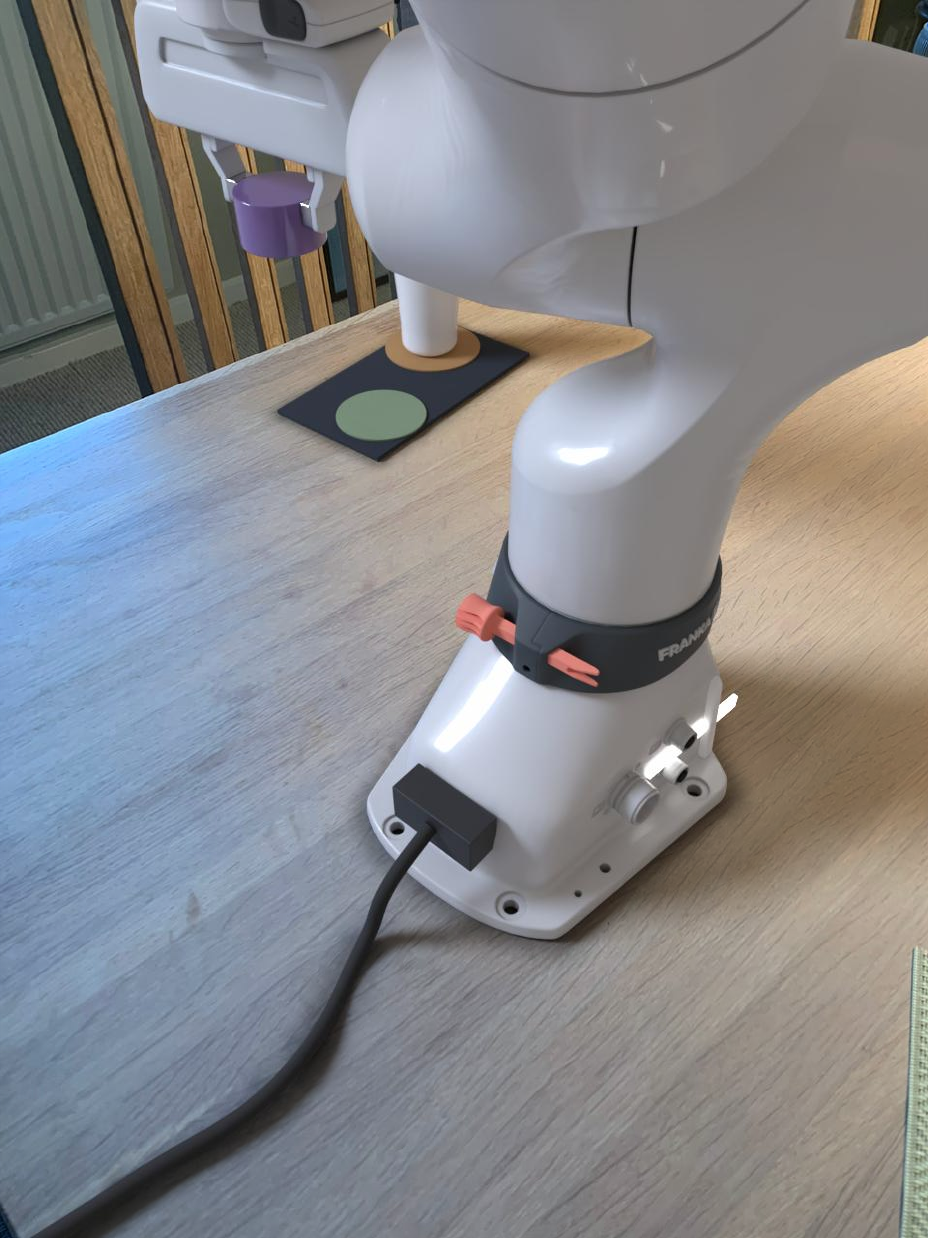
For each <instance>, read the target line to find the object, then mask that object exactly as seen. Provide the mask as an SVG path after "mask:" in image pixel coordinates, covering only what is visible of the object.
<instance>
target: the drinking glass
mask: <svg viewBox="0 0 928 1238" xmlns="http://www.w3.org/2000/svg"><path fill="white" fill-rule="evenodd" d="M393 275H394V276H393V277H394V283H395V289H396V297H397V303H398V304H397V305H398V310H399V311H398V313H399V319H400V320H399V321H400V330H401V331H402V342H403V345H404V347H405V348H406V349H407V350H408V351H409V352H411V353H413V354H416V355H419V356H426V357H432V356H439V355H443V354H445V353H448V352H449V351H451V350H452V349H453V348H454V347H455V345H456V343H457V325H458V320H459V307H460V306H459V304H460V297H458V296H455V295H452V294H449V293H446V292H444V291H441V290H438V289H435V288H433V287H430V286H427V285H425V284H422V283H419V282H416V281H414V280H411V279H409V278H406V277H404V276H401V275H399V274H396V273H394V272H393Z"/></svg>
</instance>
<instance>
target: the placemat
mask: <svg viewBox="0 0 928 1238" xmlns="http://www.w3.org/2000/svg"><path fill="white" fill-rule="evenodd" d="M530 355H531V353H530V352H529V351H526V350H523V349H521V348H519V347H516V346H513V345H510V344H508V343H505V342H503V341H500V340H497V339H495V338H492V337H489V336H487V335H484V334H482V333H479V332H476V331H474V330H472V329H469V328H466V327H463V326H460V325H458V324H457V343H456V345H455V347H454V348H453V349H452V350H451V351H449V352H448V353H445V354H443V355H439V356H432V357H426V356H419V355H416V354H413V353H411V352H409V351H408V350H407V349H406V348H405V347H404V345H403V342H402V331H401V329H399V330H397V331H395V332H393V334H391V335H390V336H389V338H388V339H387V340H386V342H385V345H383V346H381V347H379V348H378V349H376V350H375V351H373V352H371V353H370V354H368V355H367V356H365V357H363V358H361V359H359V360H358V361H356V362H354V363H353V364H351V365H350V366H348V367H345V369H343V370H340V372H337V373H336V374H334V375H333V376H331V377H329V378H328V379H326V380H324V381H322V382H321V383H319V384H317V385H316V386H314V387H312V388H311V389H310V390H308V391H306V392H304V393H303V394H301V395H300V396H298V397H296V398H295V399H293V400H291V401H290V402H288V403H285V405H283V406H281V407H279V408H277V409H276V411H277V414H278V415H280V416H282V417H284V418H286V419H288V420H291V421H292V422H294V423H297V424H298V425H301V426H303V427H305V428H306V429H308V430H311V431H313V432H315V433H317V434H319V435H321V436H323V437H326V438H328V439H329V440H332V441H334V442H335V443H338V444H340V445H342V446H344V447H346V448H348V449H350V450H353V451H355V452H357V453H359V454H361V455H363V456H365V457H367V458H369V459H370V460H373V461H375V462H380V461H381V460H383V459H384V458H385V457H386V456H388V455H390V454H391V453H392V452H394V451H396V450H397V449H398V448H400V447H401V446H402V445H404V444H405V443H407V442H408V441H410V440H411V439H413V438H414V437H416V436H417V435H418V434H420V433H422V432H423V431H424V430H426V429H427V428H429V427H430V426H431V425H433V424H434V423H436V422H437V421H438V420H440V419H441V418H443V417H445V416H446V415H447V414H449V413H450V412H452V411H453V410H454V409H456V408H457V407H459V406H461V405H462V404H463V403H465V402H466V401H468V400H469V399H471V397H473V396H475V395H476V394H477V393H479V392H481V391H482V390H483V389H485V388H486V387H487V386H489V385H490V384H492V383H493V382H495V381H496V380H498V379H499V378H500V377H502V376H503V375H505V374H506V373H508V372H509V371H511V370H512V369H514V368H515V367H517V366H518V365H519V364H521V363H522V362H524V361H525V360H526V359H528V358H530Z"/></svg>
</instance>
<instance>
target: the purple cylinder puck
mask: <svg viewBox="0 0 928 1238" xmlns="http://www.w3.org/2000/svg"><path fill="white" fill-rule="evenodd" d="M314 185H315V182H314V183H313V182H309V180H308V178H307V173H305V172H300V171H292V170H275V171H267V172H261V173H256V174H255V175H253V176H250V177H247V178H245V179H243V180H241V181H239V182H238V183H237V184H235V186H234V187H233V189H232V199H233V203H232V205H233V210H234V216H235V221H236V228H237V233H238V239H239V244H240V246H241V248H242V249H243V250H244V251H245V252H247V253H249V254H251V255H253V256H256V257H260V258H266V259H289V258H290V259H291V258H296V257H300V256H301V257H302V256H305V255H308V254H310V253H313V252H315V251H317V250H318V249H320V248H321V247H322V246H324V245H325V243H326V242H327V239H328V231H327V232H325V233H323V234H322V233H319V232H316V231H313V230H310V229H307V228H305V227H304V226H303V224H302V219H303V216H302V214H301V210H300V203H302V202H304V201H306V200H310V199H311V195H312V192H313V189H314Z"/></svg>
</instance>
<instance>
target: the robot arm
mask: <svg viewBox="0 0 928 1238" xmlns="http://www.w3.org/2000/svg"><path fill="white" fill-rule="evenodd" d="M135 1H136V5H135V9H134V16H133V21H134V22H133V24H134V25H133V26H134V40H135V48H136V56H137V64H138V65H137V66H138V71H139V77H140V82H141V91H142V94H143V99H144V101H145V104H146V105H147V107H148V109H149V110H150V113H152V116H153V117H154V118H155V119H156V120H157V121H159V122H162V123H165V124H169V125H171V126H176V127H178V128H182V129H185V130H188V131H192V132H194V133H197V134H200V138H201V144H202V148H203V150H204V153H205V154H206V155H207V157H208V159H209V161H210V163H211V165H212V166H213V167H214V169H215V171H216V173H217V174H218V176H219V177H220V180H221V185H222V191H223V196H224V199H225V201H227V202H229V203H232V204H233V199H232V189H233V187H234V186H235V184H237V183H238V182H239V181H241V180H243V179H245V178H247V177H250V176H253V175H256V174H255V173H253V172H250V171H248V170H247V169H246V166H245V164H244V162H243V159H242V158H241V155H240V152H239V150H238V147H237V146H241V147H244V148H247V149H250V150H253V151H257V152H259V153H264V154H265V155H269V156H273V157H275V158H279V159H283V160H286V161H289V162H293V163H296V164H299V165H302V166H304V167H305V169H306V174H307V178H308V180H309V182H313V183H314V182H315V185H314V189H313V192H312V195H311V199H310V200H306V201H304V202H302V203H300V210H301V214H302V216H303V219H302V224H303V226H304V227H305V228H307V229H310V230H313V231H316V232H319V233H322V234H323V233H325V232H327V233H328V232H329V231H330V230H332V229H334V228H335V227H336V224H337V212H336V203H335V202H336V200H337V198H338V196H339V193H340V191H341V189H342V186H343V184H344V181H345V180H346V184H347V189H348V194H349V198H350V204H351V207H352V210H353V213H354V217H355V219H356V221H357V223H358V226H359V228H360V231H361V233H362V235H363V237H364V238H365V241H366V242H367V244H368V246H369V248H370V249H371V251H372V253H373V254H374V255H375V257H376V259H378V261H379V263H380V264H381V265H382V266H383V267H384V268H385V269H387V270H388V271H390V272H392V273H393V274H394V273H396V274H399V275H401V276H404V277H406V278H409V279H411V280H414V281H416V282H419V283H422V284H425V285H427V286H430V287H433V288H435V289H438V290H441V291H444V292H446V293H449V294H452V295H455V296H458V297H459V298H461V299H464V300H467V301H470V302H473V303H477V304H479V305H483V306H486V307H488V308H489V307H490V308H495V309H501V310H508V311H516V312H521V313H530V314H536V315H542V316H550V317H557V318H565V319H570V320H576V321H585V322H590V323H597V324H605V325H612V326H618V327H626V328H633V329H634V330H639V331H643V332H645V333H647V334H648V335H650V336H651V338H650V339H648V340H647V341H645V342H644V343H642V344H640V345H639V346H636V347H635V348H632V349H630V350H627V351H625V352H622V353H619V354H615V355H613V356H609V357H606V358H602V359H600V360H597V361H593V362H590V363H588V364H584V365H582V366H580V367H578V368H576V369H574V370H572V371H570V372H568V373H567V374H564V375H563V376H562V377H560V378H559V379H557V380H556V381H554V382H553V383H551V384H550V385H548V386H547V387H546V388H545V389H544V390H543V391H541V392H540V393H538V395H537V396H536V397H535V398H534V399H533V400H532V401H531V402H530V404H529V405H528V406H527V408H526V409H525V411H524V412H523V414H522V415H521V417H520V419H519V422H517V423H518V424H517V426H516V428H515V432H514V435H513V438H512V443H511V453H510V454H511V455H510V456H511V458H510V460H511V461H510V483H509V484H510V485H509V486H510V487H509V509H508V510H509V513H508V514H509V515H508V530H507V531H506V533H505V535H504V538H503V541H502V544H501V547H500V550H499V553H498V554H497V556H496V557H497V559H496V560H495V562H494V565H493V567H492V572H491V575H492V578H491V581H490V585H489V589H488V593H487V596H486V599H485V598H484V597H482V596H481V595H479V594H477V593H471V594H468V595H467V596H466V597H465V598H464V599H463V600H462V601H461V603H460V604H459V606H458V609H457V611H456V613H455V618H454V623H455V626H456V628H458V629H460V630H461V631H464V632H467V633H469V634H468V636H467V638H466V639H465V641H464V643H463V645H462V646H461V648H460V649H459V651H458V653H457V655H456V656H455V658H454V660H453V662H452V663H451V665H450V667H449V668H448V670H447V672H446V673H445V676H444V677H443V678H442V680H441V682H440V684H439V685H438V687H437V688H436V690H435V692H434V694H433V696H432V698H431V700H430V701H429V703H428V705H427V706H426V708H425V709H424V711H423V713H422V715H421V716H420V718H419V721H418V723H417V724H416V726H415V728H414V729H413V730H412V732H411V734H410V735H409V736H408V737H407V739H406V741H405V742H404V743H403V745H402V746H401V748H400V749H399V750H398V751H397V753H396V755H395V756H394V757H393V759H392V760H391V761H390V764H389V765H388V766H387V768H386V769H385V771H384V772H383V773H382V774H381V776H380V777H379V779H378V781H377V782H376V783H375V785H374V787H372V790H371V791H370V793H369V795H368V796H367V800H366V813H367V816H368V819H369V823H370V825H371V828H372V830H373V831H374V834H375V835H376V837H377V839H378V841H379V842H380V844H381V845H382V847H383V848H384V849H385V851H386V852H387V854H389V856H390V857H391V858H392V859H393V860H394V861H393V863H392V865H391V867H390V868H389V870H388V871H387V872H386V874H385V875H384V877H383V879H382V880H381V882H380V884H379V886H378V887H377V890H376V892H375V893H374V896H373V898H372V900H371V903H370V906H369V910H368V913H367V916H366V919H365V922H364V924H363V927H362V929H361V931H360V933H359V935H358V937H357V939H356V941H355V943H354V945H353V948H352V949H351V951H350V954H349V955H348V958H347V959H346V962H345V965H344V966H343V969H342V971H341V973H340V976H339V978H338V979H337V982H336V984H335V986H334V988H333V990H332V992H331V995H330V997H329V999H328V1000H327V1002H326V1004H325V1006H324V1008H323V1010H322V1012H321V1014H320V1015H319V1016H318V1018H317V1021H316V1022H315V1024H314V1026H313V1027H312V1029H311V1030H310V1031H309V1033H308V1035H307V1036H306V1037H305V1039H304V1040H303V1042H302V1043H301V1044H300V1045H299V1046H298V1048H297V1050H296V1051H295V1052H294V1053H293V1054H292V1056H291V1057H290V1058H289V1059H288V1060H287V1062H285V1064H284V1065H283V1066H282V1067H281V1068H280V1069H279V1071H278V1072H277V1073H275V1074H274V1076H273V1077H271V1078H270V1080H268V1082H267V1083H266V1084H264V1085H263V1086H262V1087H261V1088H259V1090H258V1091H257V1092H256V1093H254V1094H253V1095H252V1096H250V1098H248V1099H247V1100H245V1102H243V1103H242V1104H241V1105H239V1106H238V1107H236V1108H235V1109H234V1110H232V1111H231V1112H229V1113H227V1114H226V1115H225V1116H223V1117H221V1118H220V1119H219V1120H216V1121H215V1122H214V1123H212V1124H210V1125H208V1126H207V1127H205V1128H204V1129H201V1130H200V1131H199V1132H196V1133H195V1134H194V1135H191V1136H190V1137H188V1138H186V1139H185V1140H183V1141H181V1142H179V1143H178V1144H176V1145H174V1146H172V1147H171V1148H169V1149H167V1150H165V1151H163V1152H162V1153H160V1154H159V1155H157V1156H155V1157H154V1158H152V1159H151V1160H149V1161H147V1162H145V1163H144V1164H142V1165H141V1166H139V1167H138V1168H136V1169H134V1170H133V1171H131V1172H129V1173H128V1174H126V1175H125V1176H124V1177H122V1178H121V1179H119V1180H118V1181H116V1182H115V1183H113V1184H111V1185H110V1186H109V1187H107V1188H106V1189H104V1190H103V1191H101V1192H100V1193H98V1194H96V1195H95V1196H93V1197H92V1198H90V1199H89V1200H87V1201H85V1202H84V1203H82V1204H81V1205H79V1206H78V1207H76V1208H74V1209H73V1210H72V1211H70V1212H68V1213H67V1214H65V1215H64V1216H62V1217H60V1218H59V1219H57V1220H56V1221H54V1222H52V1223H50V1224H49V1225H47V1226H46V1227H44V1228H43V1229H42V1230H39V1231H38V1232H37V1233H35V1234H33V1235H32V1236H30V1237H29V1238H68V1237H70V1236H72V1235H74V1234H75V1233H77V1232H78V1231H79V1230H81V1229H83V1228H84V1227H86V1226H87V1225H89V1224H90V1223H92V1222H93V1221H95V1220H96V1219H99V1217H101V1216H102V1215H104V1214H106V1213H107V1212H109V1211H110V1210H111V1209H113V1208H114V1207H116V1206H118V1205H119V1204H121V1203H122V1202H124V1201H125V1200H127V1199H128V1198H130V1197H132V1196H133V1195H134V1194H136V1193H137V1192H138V1191H140V1190H142V1189H144V1188H145V1187H146V1186H148V1185H149V1184H151V1183H153V1182H154V1181H156V1180H158V1178H160V1177H162V1176H164V1175H166V1174H167V1173H169V1172H171V1171H172V1170H174V1169H175V1168H177V1167H179V1166H181V1165H182V1164H184V1163H186V1162H187V1161H189V1160H191V1159H192V1158H194V1157H196V1156H198V1155H200V1154H201V1153H203V1152H205V1151H207V1150H208V1149H210V1148H212V1147H213V1146H215V1145H216V1144H218V1143H220V1142H221V1141H223V1140H225V1139H226V1138H227V1137H230V1136H231V1135H233V1134H234V1133H235V1132H237V1131H239V1130H240V1129H241V1128H242V1127H244V1126H245V1125H247V1124H248V1123H250V1122H251V1121H252V1120H253V1119H254V1118H256V1117H257V1116H258V1115H260V1114H261V1113H262V1112H263V1111H264V1110H265V1109H267V1108H268V1107H269V1106H270V1105H271V1104H272V1103H273V1102H274V1101H276V1100H277V1098H279V1097H280V1096H281V1095H282V1094H283V1093H284V1091H286V1089H288V1088H289V1086H290V1085H291V1084H292V1083H294V1081H296V1079H297V1078H298V1077H299V1075H300V1074H301V1073H302V1072H303V1070H304V1069H305V1068H306V1067H307V1066H308V1065H309V1063H310V1062H311V1060H312V1059H313V1058H314V1057H315V1055H316V1054H317V1052H318V1051H319V1050H320V1048H321V1047H322V1045H323V1044H324V1042H325V1040H326V1039H327V1037H328V1036H329V1034H330V1032H331V1031H332V1030H333V1027H334V1025H335V1024H336V1022H337V1020H338V1018H339V1017H340V1014H341V1012H342V1011H343V1007H344V1005H345V1003H346V1001H347V999H348V996H349V994H350V992H351V990H352V987H353V985H354V983H355V981H356V979H357V977H358V975H359V973H360V972H361V969H362V967H363V965H364V962H365V960H366V958H367V956H368V954H369V952H370V950H371V948H372V946H373V943H374V941H375V939H376V937H377V935H378V933H379V931H380V928H381V925H382V923H383V919H384V916H385V913H386V910H387V908H388V906H389V903H390V900H391V899H392V897H393V895H394V893H395V891H396V890H397V888H398V886H399V884H400V883H401V882H402V880H403V878H404V877H405V875H406V874H408V875H409V876H410V877H412V878H413V879H414V880H415V881H417V882H418V883H419V884H420V885H422V886H423V887H424V888H426V889H427V890H428V891H429V892H430V893H432V894H434V895H435V896H436V897H438V898H439V899H441V900H442V901H444V902H445V903H447V904H448V905H450V906H451V907H453V908H454V909H456V910H458V911H459V912H461V913H462V914H465V915H466V916H468V917H469V918H472V919H473V920H475V921H478V922H479V923H482V924H484V925H487V926H489V927H491V928H493V929H495V930H499V931H502V932H504V933H507V934H510V935H514V936H519V937H524V938H529V939H537V940H556V939H559V938H561V937H562V936H564V935H565V934H567V933H568V932H569V931H570V930H572V929H573V928H574V927H575V926H576V925H578V924H579V923H580V922H581V921H583V920H584V919H585V918H586V917H587V916H588V915H590V914H591V913H592V912H593V911H594V910H596V909H597V908H598V907H599V906H600V905H601V904H602V903H604V902H605V901H606V900H608V899H609V898H610V897H611V896H612V895H613V894H614V893H616V892H617V891H618V890H619V889H620V888H621V887H622V886H624V885H625V884H626V883H627V882H628V881H629V880H631V879H632V878H633V877H634V876H635V875H637V874H638V873H639V872H640V871H641V870H642V869H644V868H645V867H646V866H647V865H648V864H649V863H650V862H652V861H653V860H654V859H655V858H657V857H658V856H659V855H660V854H661V853H662V852H663V851H664V850H666V849H668V847H669V846H671V845H672V844H673V843H674V842H676V840H678V839H679V838H681V836H683V835H684V834H685V833H686V832H687V831H688V830H689V829H691V828H692V827H693V826H694V825H695V824H696V823H698V822H699V821H700V820H702V819H703V818H704V817H705V816H706V815H707V814H708V813H709V812H711V810H713V809H714V808H715V807H716V806H718V805H719V804H720V803H721V802H722V801H723V800H724V798H725V796H726V794H727V787H728V778H727V774H726V772H725V769H724V768H723V765H722V764H721V763H720V761H719V759H718V758H717V756H716V754H715V752H714V751H713V746H714V741H715V734H716V728H717V723H718V722H719V721H720V720H721V719H722V718H723V717H725V716H726V715H727V714H728V713H729V712H730V711H731V710H733V708H735V707H736V703H737V700H738V695H736V693H732V694H731V695H730V696H728V698H726V699H725V700H724V701H723V702H721V698H722V693H723V685H724V683H723V681H722V679H721V673H720V671H719V669H718V665H717V663H716V661H715V657H714V654H713V650H712V647H711V643H710V640H709V634H710V632H711V630H712V627H713V622H714V619H715V617H716V615H717V612H718V609H719V606H720V601H721V595H722V579H723V562H722V556H721V554H720V553H721V549H722V546H723V542H724V538H725V535H726V532H727V528H728V524H729V521H730V518H731V515H732V512H733V509H734V507H735V506H734V505H735V503H736V499H737V498H738V495H739V491H740V489H741V486H742V483H743V481H744V478H745V476H746V473H747V471H748V469H749V467H750V464H751V463H752V461H753V459H754V457H755V456H756V455H757V452H758V451H759V449H760V448H761V447H762V445H763V444H764V443H765V442H766V441H767V439H768V438H769V437H770V435H771V434H772V433H773V432H774V431H775V430H776V429H777V428H778V427H779V425H780V424H781V423H782V422H783V421H784V420H785V419H786V418H787V417H788V416H790V415H791V414H792V413H793V412H794V411H795V410H797V409H798V408H799V407H801V405H802V404H804V403H805V402H807V401H808V400H809V399H810V398H812V397H813V396H814V395H816V394H817V393H818V392H819V391H821V390H822V389H824V388H826V387H827V386H829V385H830V384H832V383H833V382H835V381H837V380H839V379H840V378H841V377H843V376H845V375H847V374H848V373H850V372H853V371H854V370H856V369H859V368H860V367H862V366H864V365H866V364H868V363H870V362H873V361H875V360H877V359H879V358H882V357H884V356H888V355H889V354H892V353H894V352H897V351H901V350H904V349H906V348H909V347H912V346H914V345H917V344H918V343H919V342H921V341H922V340H924V339H925V338H927V337H928V57H927V56H924V55H920V54H916V53H913V52H909V51H906V50H902V49H899V48H895V47H892V46H888V45H885V44H881V43H877V42H875V41H871V40H867V39H855V38H847V34H848V30H849V26H850V23H851V20H852V19H851V18H852V15H853V12H854V9H855V8H854V7H855V4H856V0H408V3H409V5H410V7H411V9H412V11H413V13H414V16H415V17H416V20H417V22H418V24H416V25H414V26H409V27H408V28H404V29H402V30H400V31H399V32H398V33H397V34H396V35H395V36H393V38H392V39H391V37H390V35H388V33H386V31H385V30H383V29H382V28H380V27H382V26H385V25H386V24H388V23H390V22H391V21H392V20H393V19H394V15H395V0H135ZM690 793H694V794H696V795H698V796H694V795H691V794H690ZM396 830H401V831H403V832H402V833H400V834H394V833H393V832H394V831H396ZM510 907H511V908H514V909H516V910H517V912H515V913H513V914H510V913H507V912H506V911H505V909H507V908H510Z"/></svg>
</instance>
